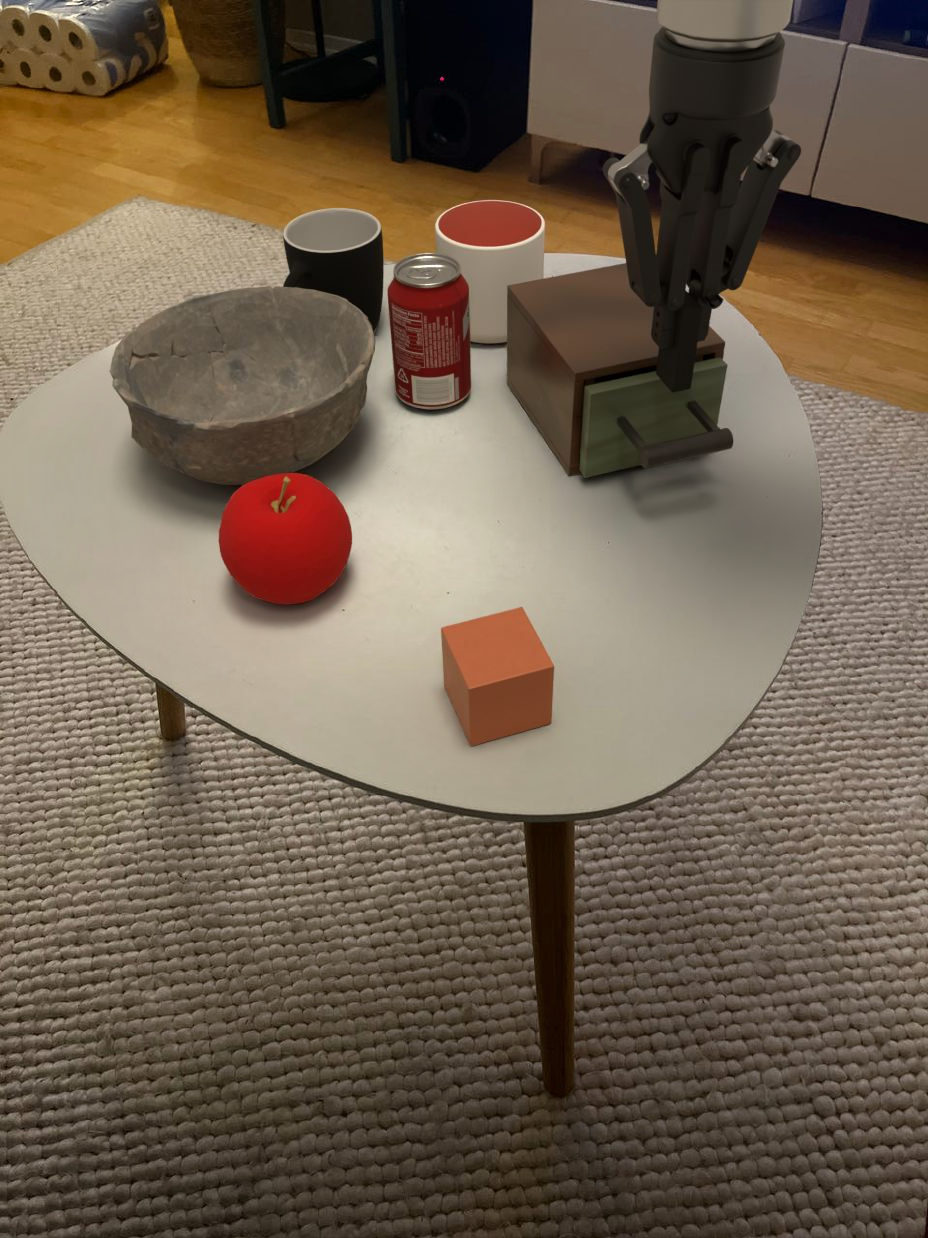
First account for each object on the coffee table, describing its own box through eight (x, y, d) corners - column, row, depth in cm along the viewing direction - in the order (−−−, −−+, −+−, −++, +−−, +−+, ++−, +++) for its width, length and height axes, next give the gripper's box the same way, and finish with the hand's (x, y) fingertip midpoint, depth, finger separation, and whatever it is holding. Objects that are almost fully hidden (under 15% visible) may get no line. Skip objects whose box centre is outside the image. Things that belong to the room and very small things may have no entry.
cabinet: (708, 444, 89) (725, 341, 82) (569, 476, 86) (574, 373, 80) (634, 356, 99) (643, 258, 92) (506, 383, 96) (507, 284, 89)
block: (551, 724, 68) (554, 665, 64) (470, 747, 67) (468, 689, 63) (521, 664, 72) (522, 605, 68) (443, 685, 71) (440, 627, 67)
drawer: (749, 489, 83) (766, 404, 78) (615, 522, 81) (623, 437, 75) (642, 364, 96) (650, 284, 91) (524, 389, 94) (525, 308, 88)
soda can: (463, 418, 92) (460, 290, 84) (388, 412, 93) (376, 285, 85) (477, 376, 97) (475, 251, 89) (405, 370, 98) (396, 246, 90)
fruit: (257, 644, 74) (231, 534, 67) (213, 568, 80) (185, 459, 72) (377, 597, 77) (365, 487, 70) (327, 527, 83) (311, 419, 75)
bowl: (329, 360, 100) (316, 259, 93) (427, 478, 87) (420, 371, 80) (110, 424, 93) (78, 321, 86) (180, 562, 80) (149, 453, 73)
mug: (338, 297, 108) (326, 199, 101) (408, 322, 104) (401, 221, 97) (256, 350, 101) (238, 248, 94) (328, 378, 97) (314, 275, 90)
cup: (550, 301, 106) (553, 203, 99) (531, 354, 100) (534, 252, 92) (452, 292, 108) (449, 195, 101) (428, 343, 101) (422, 243, 94)
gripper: (786, -3, 65) (727, 339, 82) (590, 24, 63) (571, 372, 80) (855, 33, 60) (777, 390, 77) (645, 64, 58) (612, 427, 74)
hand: (673, 380), depth 78 cm, fingers closed
